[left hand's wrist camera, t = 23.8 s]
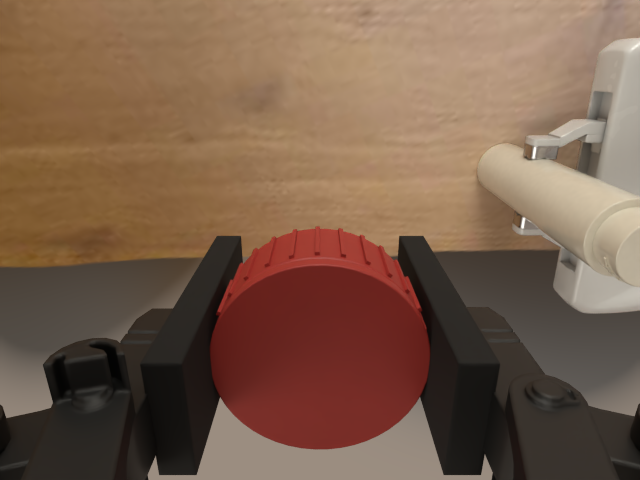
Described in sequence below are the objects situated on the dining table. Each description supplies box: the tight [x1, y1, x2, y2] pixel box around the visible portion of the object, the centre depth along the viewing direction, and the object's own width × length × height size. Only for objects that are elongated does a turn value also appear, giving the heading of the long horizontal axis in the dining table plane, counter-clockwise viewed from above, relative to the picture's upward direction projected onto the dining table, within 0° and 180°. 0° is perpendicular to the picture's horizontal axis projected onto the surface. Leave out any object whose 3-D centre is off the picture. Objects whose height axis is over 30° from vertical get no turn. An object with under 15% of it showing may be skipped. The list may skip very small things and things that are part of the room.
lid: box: [210, 227, 430, 449], centre depth 11 cm, size 5×5×2 cm
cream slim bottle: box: [477, 143, 640, 287], centre depth 30 cm, size 4×4×19 cm
